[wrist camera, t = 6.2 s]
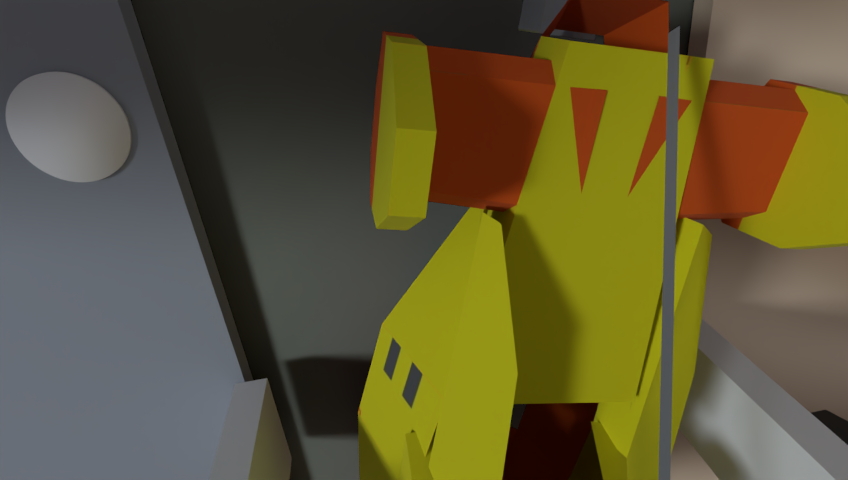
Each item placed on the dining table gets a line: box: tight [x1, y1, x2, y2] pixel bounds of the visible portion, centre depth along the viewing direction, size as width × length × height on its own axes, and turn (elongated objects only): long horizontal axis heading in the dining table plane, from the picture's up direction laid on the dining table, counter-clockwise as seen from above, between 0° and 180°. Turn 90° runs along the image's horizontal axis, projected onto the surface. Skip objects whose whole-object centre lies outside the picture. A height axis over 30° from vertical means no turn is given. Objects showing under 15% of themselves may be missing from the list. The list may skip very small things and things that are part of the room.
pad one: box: [0, 0, 254, 480], centre depth 12 cm, size 20×9×1 cm, turn 6°
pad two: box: [670, 0, 848, 480], centre depth 13 cm, size 20×9×1 cm, turn 6°
